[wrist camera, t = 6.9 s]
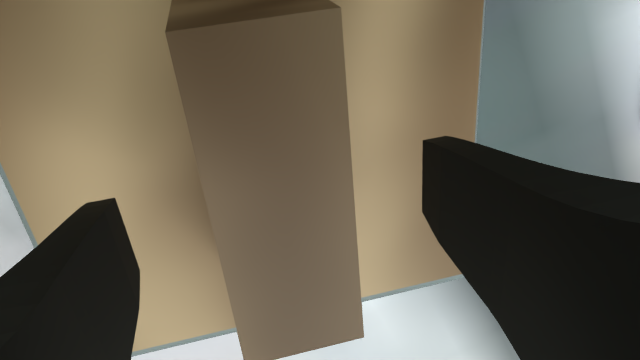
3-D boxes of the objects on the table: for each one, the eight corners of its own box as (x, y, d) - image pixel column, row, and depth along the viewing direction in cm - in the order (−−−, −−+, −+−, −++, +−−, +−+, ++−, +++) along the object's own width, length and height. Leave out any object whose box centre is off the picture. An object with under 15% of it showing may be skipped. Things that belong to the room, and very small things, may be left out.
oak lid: (477, -156, 12) (623, -192, 8) (456, 259, 19) (531, 357, 14) (-101, -103, 10) (-296, -115, 6) (95, 343, 17) (64, 484, 12)
